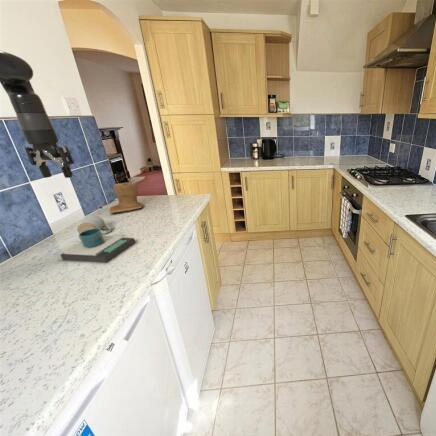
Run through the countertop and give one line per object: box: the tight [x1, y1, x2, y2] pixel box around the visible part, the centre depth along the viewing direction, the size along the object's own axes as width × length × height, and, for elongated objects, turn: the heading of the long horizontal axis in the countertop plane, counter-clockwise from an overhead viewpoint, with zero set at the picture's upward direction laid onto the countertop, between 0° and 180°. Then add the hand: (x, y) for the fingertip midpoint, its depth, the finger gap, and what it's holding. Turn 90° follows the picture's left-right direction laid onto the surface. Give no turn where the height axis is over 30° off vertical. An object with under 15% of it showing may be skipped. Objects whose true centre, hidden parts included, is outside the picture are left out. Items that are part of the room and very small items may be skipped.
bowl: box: [78, 229, 104, 248], centre depth 90 cm, size 6×6×5 cm
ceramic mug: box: [77, 214, 112, 235], centre depth 106 cm, size 11×8×8 cm
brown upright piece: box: [108, 182, 144, 214], centre depth 131 cm, size 15×12×15 cm
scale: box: [60, 235, 136, 263], centre depth 92 cm, size 18×14×3 cm
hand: (58, 177), depth 85 cm, fingers open, 8 cm apart
